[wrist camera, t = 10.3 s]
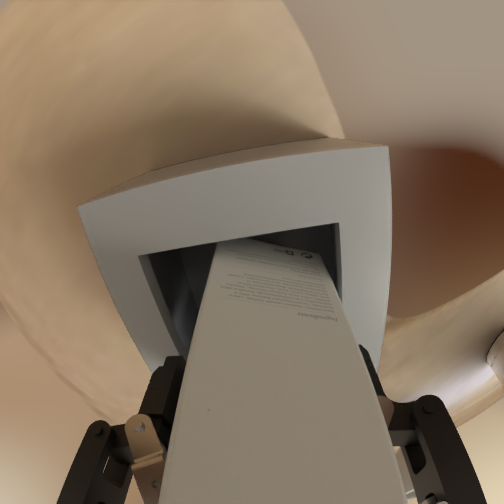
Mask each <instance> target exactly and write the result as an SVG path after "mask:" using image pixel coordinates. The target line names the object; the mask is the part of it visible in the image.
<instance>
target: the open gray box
mask: <svg viewBox="0 0 504 504" xmlns="http://www.w3.org/2000/svg"><path fill="white" fill-rule="evenodd" d="M391 197H392V196H391V176H390V161H389V150H388V146H386V145H380V144H374V143H368V142H360V141H354V140H346V139H338V138H321V139H312V140H303V141H296V142H288V143H281V144H275V145H268V146H262V147H256V148H251V149H245V150H240V151H234V152H229V153H224V154H220V155H215V156H210V157H206V158H201V159H197V160H193V161H188V162H184V163H180V164H176V165H172V166H169V167H165V168H161V169H157V170H154V171H150V172H148V173H145V174H143V175H141V176H139V177H136V178H134V179H132V180H130V181H127V182H125V183H123V184H121V185H119V186H117V187H115V188H113V189H110V190H108V191H106V192H104V193H102V194H100V195H98V196H96V197H94V198H92V199H91V200H89V201H87V202H85V203H83V204H81V205H79V206H77V209H78V212H79V215H80V218H81V221H82V224H83V227H84V230H85V233H86V236H87V239H88V241H89V244H90V247H91V250H92V252H93V255H94V257H95V260H96V262H97V265H98V267H99V270H100V272H101V275H102V277H103V279H104V282H105V284H106V286H107V288H108V291H109V293H110V295H111V297H112V299H113V302H114V304H115V306H116V308H117V310H118V312H119V314H120V316H121V318H122V320H123V322H124V324H125V326H126V328H127V330H128V332H129V334H130V336H131V338H132V339H133V341H134V343H135V345H136V347H137V348H138V350H139V352H140V354H141V356H142V357H143V359H144V361H145V362H146V364H147V366H148V368H149V369H150V371H151V373H152V374H153V372H154V371H155V370H156V369H157V368H158V367H159V366H163V365H164V362H165V359H166V357H167V356H180V355H182V356H183V357H184V359H185V361H186V363H187V359H188V354H189V350H190V346H191V342H192V338H193V333H194V329H195V325H196V321H197V317H198V313H199V309H200V305H201V302H202V298H203V294H204V291H205V287H206V284H207V280H208V276H209V272H210V268H211V264H212V261H213V257H214V253H215V250H216V246H217V242H219V241H225V240H231V239H237V238H247V239H252V240H257V241H262V242H266V243H270V244H275V245H280V246H284V247H289V248H294V249H300V250H305V251H310V252H314V253H319V254H320V255H321V256H322V259H323V261H324V263H325V265H326V268H327V270H328V272H329V275H330V277H331V279H332V281H333V284H334V286H335V288H336V291H337V293H338V296H339V298H340V300H341V303H342V305H343V308H344V310H345V312H346V315H347V317H348V320H349V322H350V325H351V328H352V330H353V333H354V335H355V338H356V341H357V343H358V345H359V344H361V345H362V346H363V347H364V348H365V349H366V350H367V351H368V352H369V355H370V357H371V361H372V362H373V365H374V368H375V370H376V373H377V372H378V366H379V361H380V355H381V350H382V343H383V337H384V330H385V323H386V314H387V305H388V296H389V284H390V270H391V269H390V268H391V249H392V248H391V247H392V198H391Z"/></svg>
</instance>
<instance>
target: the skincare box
mask: <svg viewBox="0 0 504 504" xmlns="http://www.w3.org/2000/svg"><path fill="white" fill-rule="evenodd" d="M158 504H408V502H407V498H406V493H405V489H404V485H403V481H402V477H401V473H400V470H399V466H398V462H397V459H396V455H395V452H394V448H393V445H392V441H391V438H390V435H389V431H388V428H387V425H386V422H385V419H384V416H383V413H382V410H381V407H380V404H379V401H378V398H377V395H376V392H375V389H374V386H373V383H372V380H371V378H370V375H369V372H368V370H367V367H366V364H365V361H364V358H363V356H362V353H361V351H360V348H359V346H358V343H357V341H356V338H355V335H354V333H353V330H352V328H351V325H350V322H349V320H348V317H347V315H346V312H345V310H344V308H343V305H342V303H341V300H340V298H339V296H338V293H337V291H336V288H335V286H334V284H333V281H332V279H331V277H330V275H329V272H328V270H327V268H326V265H325V263H324V261H323V259H322V256H321V255H320V254H319V253H314V252H310V251H305V250H300V249H294V248H289V247H284V246H280V245H275V244H270V243H266V242H262V241H257V240H252V239H247V238H237V239H231V240H225V241H219V242H217V246H216V250H215V253H214V257H213V261H212V264H211V268H210V272H209V276H208V280H207V284H206V287H205V291H204V294H203V298H202V302H201V305H200V309H199V313H198V317H197V321H196V325H195V329H194V333H193V338H192V342H191V346H190V350H189V354H188V359H187V363H186V367H185V372H184V376H183V381H182V385H181V390H180V394H179V399H178V403H177V408H176V413H175V417H174V422H173V427H172V432H171V437H170V442H169V447H168V452H167V458H166V463H165V468H164V474H163V480H162V485H161V491H160V497H159V503H158Z"/></svg>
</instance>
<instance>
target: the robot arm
mask: <svg viewBox="0 0 504 504" xmlns="http://www.w3.org/2000/svg"><path fill="white" fill-rule="evenodd" d="M358 346H359V348H360V351H361V353H362V356H363V358H364V361H365V364H366V367H367V370H368V372H369V375H370V378H371V380H372V383H373V386H374V389H375V392H376V395H377V398H378V401H379V404H380V407H381V410H382V413H383V416H384V419H385V422H386V425H387V428H388V431H389V435H390V438H391V441H392V445H393V446H400V447H401V450H402V453H403V456H404V459H405V462H406V465H407V468H408V471H409V474H410V478H411V481H412V484H413V487H414V491H415V494H416V497H417V501H418V504H487V502H486V499H485V497H484V494H483V491H482V488H481V486H480V483H479V480H478V477H477V475H476V473H475V470H474V468H473V465H472V463H471V460H470V458H469V456H468V453H467V451H466V449H465V447H464V444H463V442H462V440H461V438H460V436H459V433H458V431H457V430H456V427H455V425H454V423H453V421H452V419H451V417H450V415H449V413H448V411H447V409H446V407H445V405H444V403H443V402H442V400H441V399H440V398H439V397H437V396H434V395H425V396H422V397H420V398H419V399H418V400H417V401H416V402H415V403H397V402H394V401H392V400H390V399H389V398H387V397H386V395H385V394H384V391H383V389H382V386H381V383H380V381H379V378H378V375H377V373H376V370H375V368H374V365H373V362H372V361H371V357H370V355H369V352H368V351H367V350H366V349H365V348H364V347H363V346H362V345H361V344H359V345H358ZM487 362H488V364H489V365H490V367H491V368H492V370H493V371H494V373H495V374H496V376H497V377H498V379H499V381H500V382H501V384H502V385H503V387H504V331H503V332H502V333H501V334H500V336H499V337H498V338H497V339H496V341H495V342H494V344H493V345H492V347H491V349H490V351H489V353H488V355H487ZM185 367H186V361H185V359H184V357H183V356H182V355H180V356H167V357H166V359H165V362H164V365H163V366H159V367H158V368H157V369H156V370H155V371H154V372H153V374H152V376H151V379H150V383H149V385H148V387H147V390H146V393H145V396H144V398H143V401H142V404H141V407H140V410H139V412H138V414H136V415H134V416H132V417H130V418H129V419H128V420H127V422H126V424H121V425H115V426H110V425H109V424H108V423H107V422H106V421H103V420H99V421H95V422H93V423H92V424H91V425H90V426H89V428H88V429H87V432H86V434H85V436H84V438H83V440H82V443H81V445H80V447H79V449H78V452H77V454H76V456H75V458H74V461H73V463H72V465H71V468H70V471H69V473H68V475H67V478H66V480H65V483H64V485H63V488H62V490H61V493H60V496H59V498H58V501H57V504H124V502H125V499H126V495H127V492H128V488H129V485H130V482H131V479H132V476H133V475H134V478H135V480H136V483H137V486H138V489H139V491H140V494H141V496H142V499H143V501H144V504H158V503H159V497H160V491H161V485H162V480H163V474H164V468H165V463H166V458H167V452H168V447H169V442H170V437H171V432H172V427H173V422H174V417H175V413H176V408H177V403H178V399H179V394H180V390H181V385H182V381H183V376H184V372H185ZM108 457H109V459H108ZM107 459H108V462H107ZM106 462H107V464H106ZM105 464H106V467H105ZM104 467H105V470H104ZM103 470H104V472H103Z"/></svg>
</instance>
